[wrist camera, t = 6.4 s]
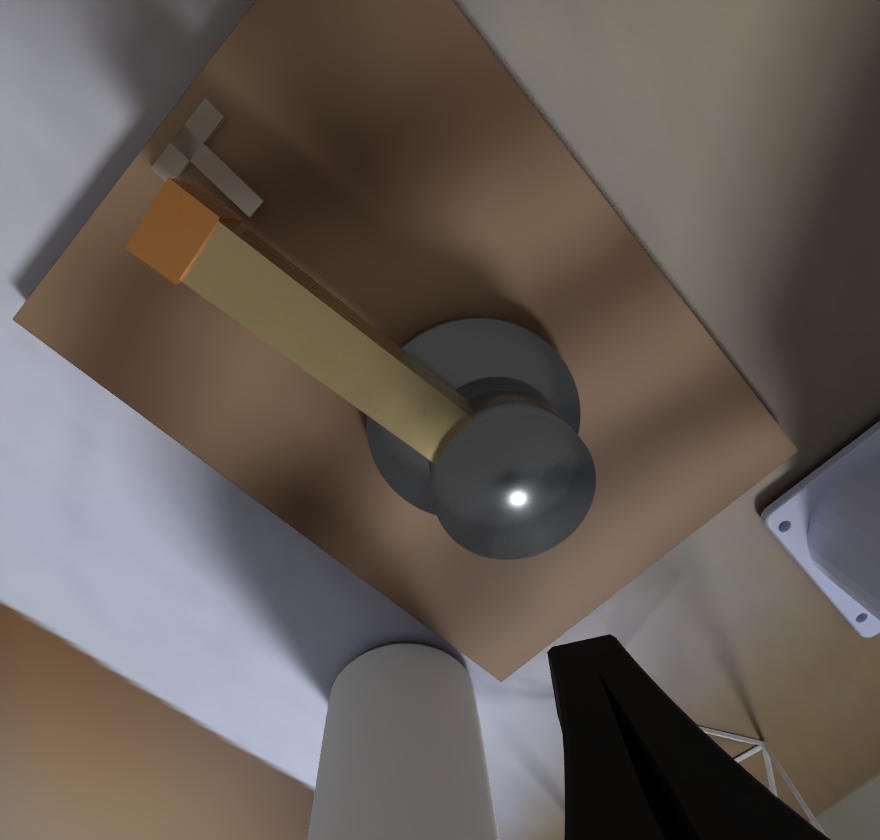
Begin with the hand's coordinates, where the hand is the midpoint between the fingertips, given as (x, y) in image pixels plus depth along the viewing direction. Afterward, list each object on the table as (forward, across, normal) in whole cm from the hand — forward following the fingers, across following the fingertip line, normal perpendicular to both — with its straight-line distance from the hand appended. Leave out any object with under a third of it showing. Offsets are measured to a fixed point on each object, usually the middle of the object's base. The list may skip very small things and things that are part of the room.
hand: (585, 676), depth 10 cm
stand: (+9, +1, -4) cm, 10 cm away
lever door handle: (+8, +3, -5) cm, 10 cm away
